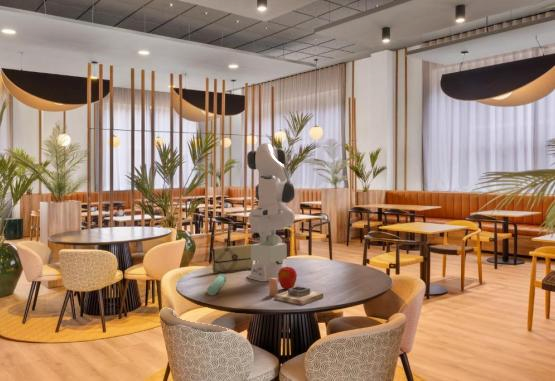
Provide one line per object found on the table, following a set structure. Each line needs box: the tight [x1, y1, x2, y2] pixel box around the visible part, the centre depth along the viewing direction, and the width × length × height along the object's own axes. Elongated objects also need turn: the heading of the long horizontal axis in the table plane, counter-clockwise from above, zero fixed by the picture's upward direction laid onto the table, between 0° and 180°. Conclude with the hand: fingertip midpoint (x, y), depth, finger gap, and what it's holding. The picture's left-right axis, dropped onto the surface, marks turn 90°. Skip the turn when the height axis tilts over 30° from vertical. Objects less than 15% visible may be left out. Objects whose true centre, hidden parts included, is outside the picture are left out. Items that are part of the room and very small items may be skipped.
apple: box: [278, 266, 298, 291], centre depth 235 cm, size 9×9×12 cm
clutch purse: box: [209, 243, 258, 274], centre depth 281 cm, size 30×7×15 cm, turn 122°
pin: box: [268, 278, 279, 297], centre depth 223 cm, size 4×4×8 cm
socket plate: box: [274, 285, 324, 306], centre depth 217 cm, size 16×16×4 cm
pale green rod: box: [206, 273, 227, 296], centre depth 236 cm, size 6×6×25 cm
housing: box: [251, 235, 288, 263], centre depth 215 cm, size 12×12×11 cm
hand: (268, 240), depth 215 cm, fingers closed on housing, 3 cm apart
